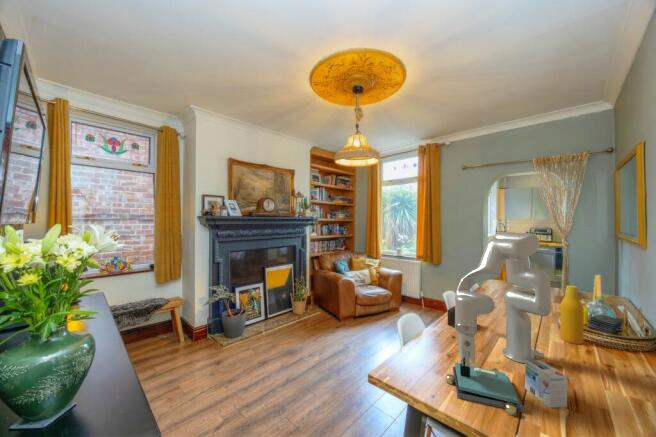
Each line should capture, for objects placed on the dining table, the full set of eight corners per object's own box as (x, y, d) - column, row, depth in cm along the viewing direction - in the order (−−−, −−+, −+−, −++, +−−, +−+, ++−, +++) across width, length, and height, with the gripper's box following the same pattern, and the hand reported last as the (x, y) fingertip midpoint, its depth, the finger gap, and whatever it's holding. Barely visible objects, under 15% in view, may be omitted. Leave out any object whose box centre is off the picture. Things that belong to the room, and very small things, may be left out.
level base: (505, 377, 108) (505, 371, 108) (526, 419, 85) (526, 411, 85) (444, 365, 116) (444, 360, 116) (448, 401, 93) (448, 394, 93)
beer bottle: (556, 338, 142) (556, 285, 142) (564, 335, 147) (565, 283, 147) (579, 346, 134) (579, 289, 134) (586, 342, 138) (587, 287, 138)
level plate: (504, 376, 105) (504, 369, 105) (518, 404, 89) (518, 396, 89) (454, 365, 111) (455, 359, 111) (459, 389, 95) (459, 382, 95)
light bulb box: (524, 388, 101) (524, 360, 101) (540, 387, 101) (540, 359, 101) (550, 408, 90) (550, 377, 90) (568, 407, 91) (568, 376, 91)
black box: (446, 325, 160) (446, 296, 160) (453, 320, 167) (453, 292, 167) (474, 333, 149) (474, 301, 149) (480, 328, 156) (480, 297, 156)
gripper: (480, 337, 94) (479, 389, 94) (473, 322, 108) (472, 367, 108) (456, 334, 96) (456, 384, 96) (453, 319, 110) (452, 363, 110)
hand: (465, 375), depth 102 cm, fingers closed
